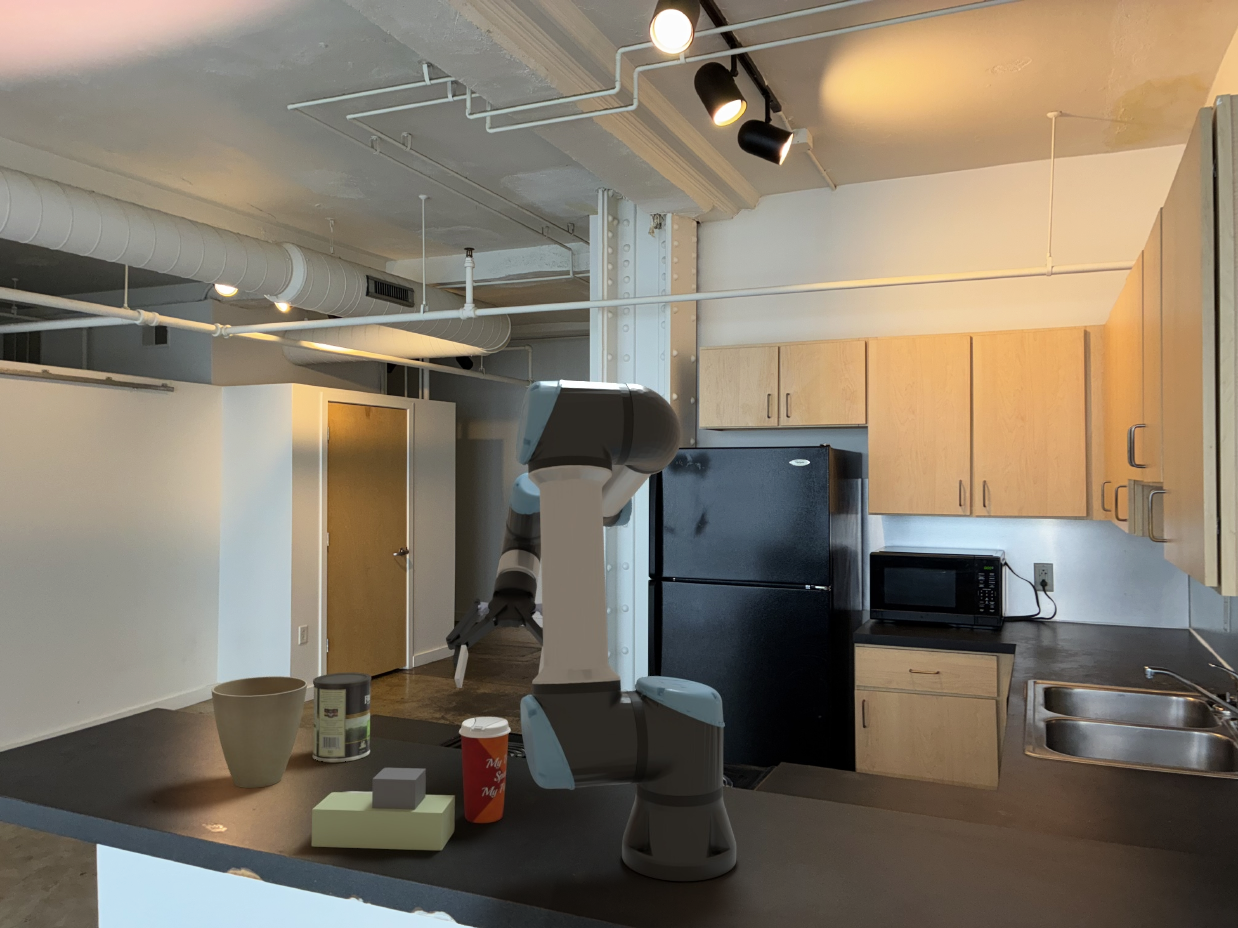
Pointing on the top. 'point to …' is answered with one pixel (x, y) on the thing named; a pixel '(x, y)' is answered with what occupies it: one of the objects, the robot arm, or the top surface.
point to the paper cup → (484, 767)
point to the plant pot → (258, 726)
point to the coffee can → (341, 717)
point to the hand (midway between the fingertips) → (499, 684)
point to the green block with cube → (386, 815)
